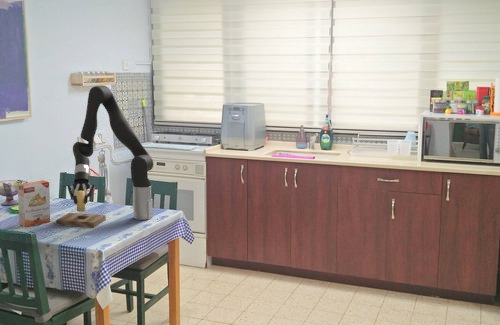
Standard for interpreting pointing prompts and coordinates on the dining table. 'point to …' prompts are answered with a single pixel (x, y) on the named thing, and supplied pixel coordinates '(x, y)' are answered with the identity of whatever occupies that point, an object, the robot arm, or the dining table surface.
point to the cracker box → (34, 203)
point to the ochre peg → (80, 201)
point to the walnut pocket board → (81, 220)
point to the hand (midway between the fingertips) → (80, 203)
